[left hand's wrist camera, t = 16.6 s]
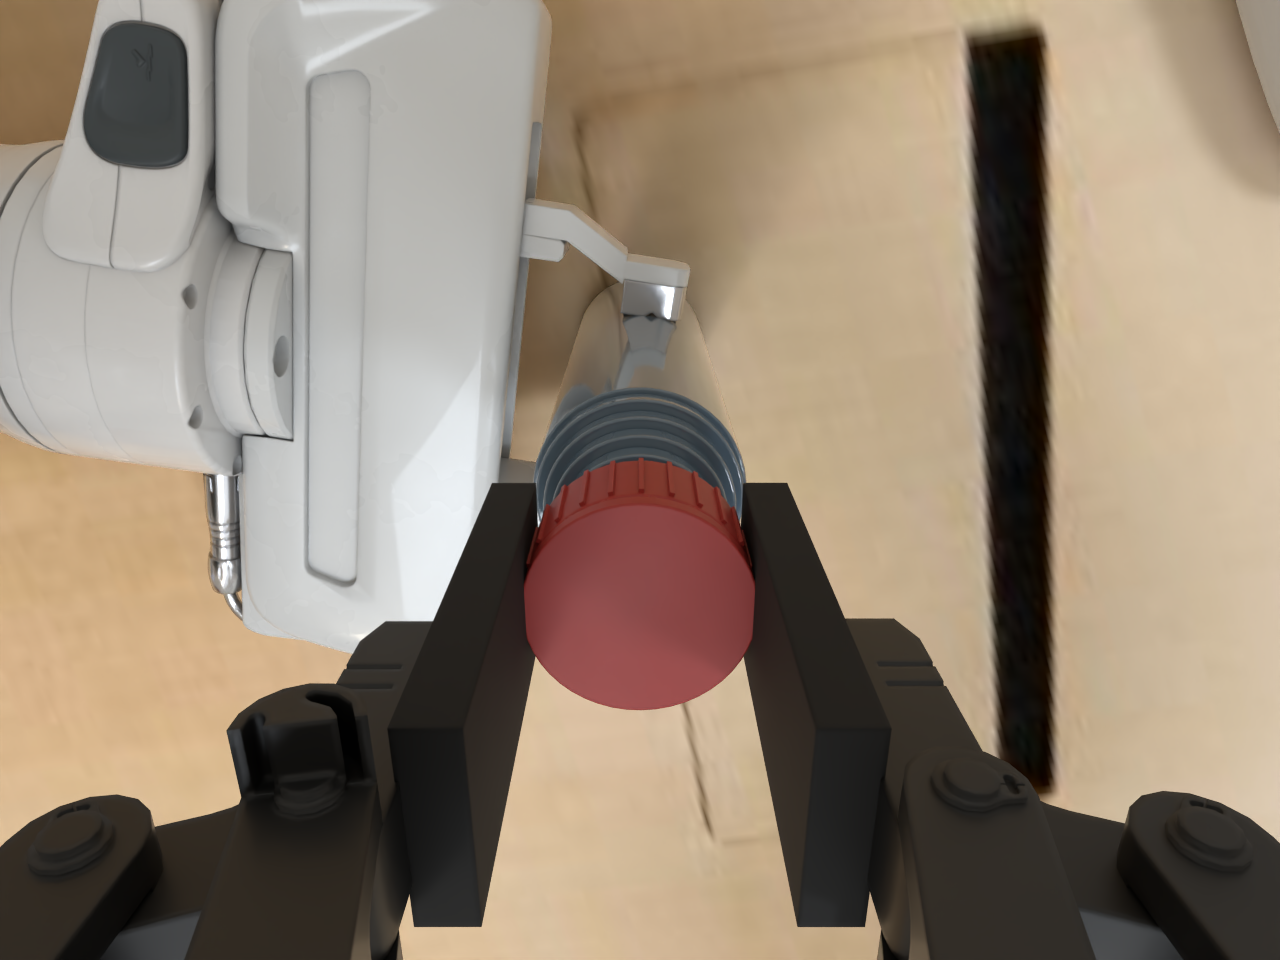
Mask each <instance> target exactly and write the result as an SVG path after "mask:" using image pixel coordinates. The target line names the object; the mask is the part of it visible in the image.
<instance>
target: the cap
mask: <svg viewBox="0 0 1280 960" xmlns="http://www.w3.org/2000/svg"><path fill="white" fill-rule="evenodd" d="M527 568H528V569H527V574H526V577H525V581H524V600H525V617H526V633H527V640H528V642H529V645H530V647H531V649H532V651H533V653H534V654H535V656H536V657H537V659H538V660H539V662H540V663H541V665H542V666H543V667H544V668H545V669H546V670H547V672H548V673H549V674H550V675H551V676H552V677H553V678H555V679H556V680H557V681H558V682H559V683H560V684H562V685H563V686H565V687H566V688H567V689H569V690H570V691H572V692H574V693H575V694H577V695H579V696H581V697H583V698H585V699H588V700H590V701H593V702H595V703H598V704H602V705H605V706H609V707H613V708H620V709H627V710H651V709H660V708H665V707H671V706H674V705H677V704H681V703H684V702H687V701H689V700H691V699H694V698H696V697H698V696H700V695H702V694H704V693H705V692H707V691H709V690H711V689H712V688H713V687H715V686H716V685H717V684H719V683H720V682H722V681H723V680H724V679H725V678H726V677H727V676H728V675H729V674H730V673H731V672H732V671H733V670H734V668H735V667H736V666H737V665H738V664H739V662H740V661H741V659H742V658H743V656H744V655H745V653H746V651H747V650H748V648H749V645H750V643H751V641H752V633H753V616H754V599H755V579H754V575H753V572H752V563H751V559H750V555H749V552H748V548H747V544H746V540H745V536H744V532H743V530H741V526H740V522H739V519H738V515H737V511H736V508H735V507H734V506H733V507H730V506H729V504H728V503H727V501H726V500H725V499H724V498H723V497H722V496H721V492H720V489H719V488H718V487H717V486H716V487H715V488H713V487H712V486H711V485H710V484H708V483H707V482H706V481H705V480H703V479H701V478H700V477H698V473H697V472H695V471H693V473H691V472H689V471H687V470H684V469H682V468H679V467H676V466H673V465H672V462H669V461H667V463H660V462H654V461H644V458H639V461H625V462H619V463H616V462H615V460H614V461H610V464H609V465H606V466H603V467H600V468H597V469H595V470H593V471H591V472H589V470H586V471H584V474H583V476H581V477H580V478H578V479H576V480H575V481H573V482H572V483H571V484H569V485H568V486H566V485H563V486H562V487H561V492H560V494H559V495H558V496H557V497H556V498H555V499H554V500H553V501H552V503H551V504H550V505H548V504H546V506H545V507H544V511H543V515H542V519H541V522H540V525H539V528H538V527H536V529H535V533H534V537H533V540H532V544H531V548H530V552H529V555H528V559H527Z"/></svg>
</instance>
